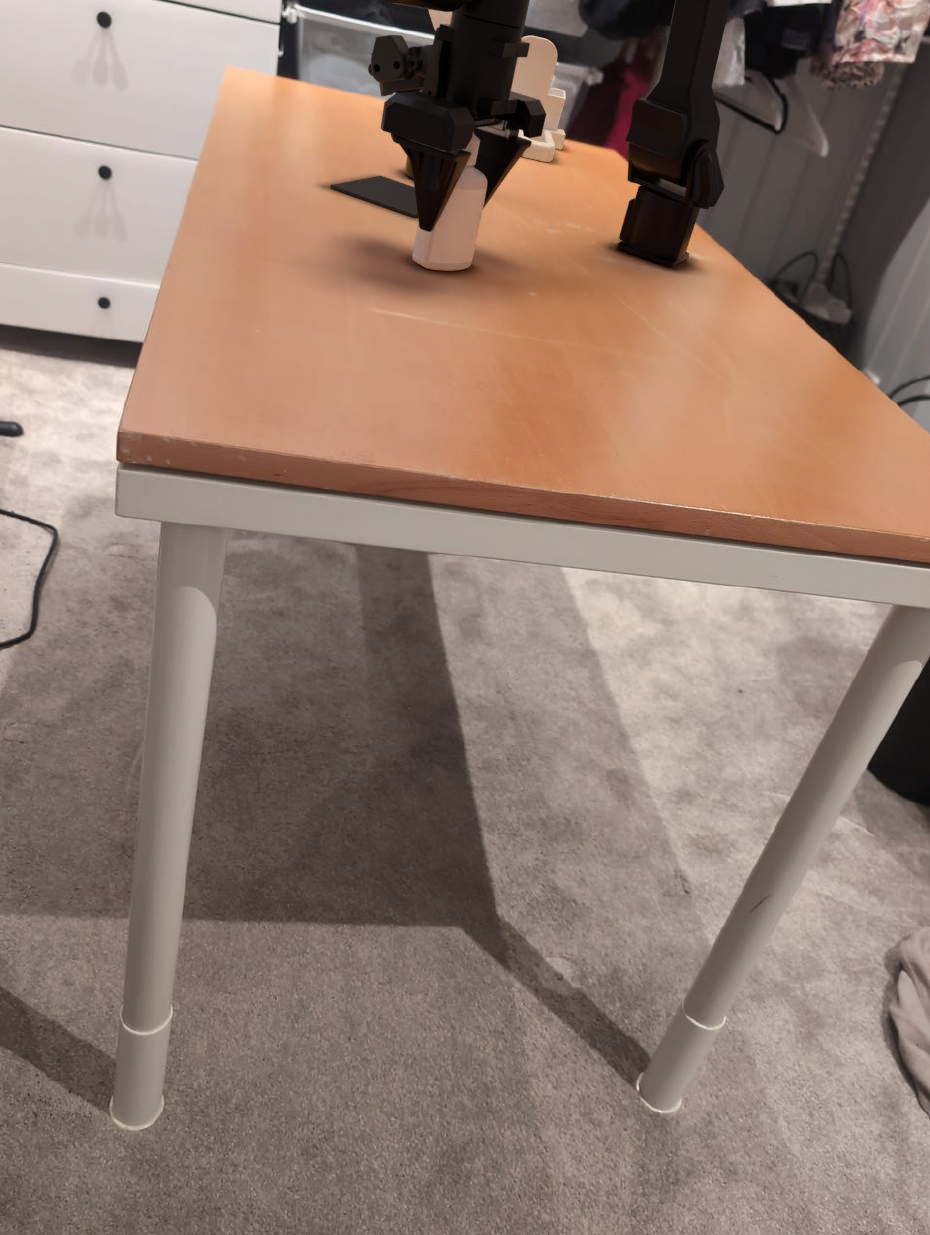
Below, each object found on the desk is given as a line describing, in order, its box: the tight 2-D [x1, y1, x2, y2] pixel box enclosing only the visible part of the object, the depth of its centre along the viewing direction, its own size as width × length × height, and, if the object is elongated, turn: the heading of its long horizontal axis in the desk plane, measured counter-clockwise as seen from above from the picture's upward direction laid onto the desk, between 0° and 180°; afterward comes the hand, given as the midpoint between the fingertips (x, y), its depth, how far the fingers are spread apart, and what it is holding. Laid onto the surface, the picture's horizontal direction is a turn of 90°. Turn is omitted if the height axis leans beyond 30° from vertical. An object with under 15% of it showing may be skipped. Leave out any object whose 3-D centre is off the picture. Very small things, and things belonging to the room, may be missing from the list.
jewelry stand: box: [427, 9, 567, 163], centre depth 137 cm, size 25×16×25 cm, turn 91°
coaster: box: [329, 175, 418, 219], centre depth 107 cm, size 10×10×1 cm
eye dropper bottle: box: [411, 132, 487, 272], centre depth 87 cm, size 4×6×12 cm
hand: (449, 223), depth 88 cm, fingers closed on eye dropper bottle, 8 cm apart
